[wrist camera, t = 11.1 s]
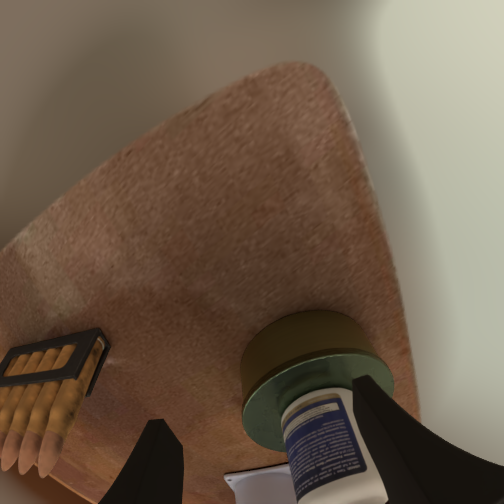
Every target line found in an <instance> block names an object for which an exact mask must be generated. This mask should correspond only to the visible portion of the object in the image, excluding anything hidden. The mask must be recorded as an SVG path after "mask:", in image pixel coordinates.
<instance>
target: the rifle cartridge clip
mask: <svg viewBox="0 0 504 504" xmlns="http://www.w3.org/2000/svg"><path fill="white" fill-rule="evenodd" d="M110 348H111V347H110V345H109V343H108V342H107V340H106V339H105V337H104V335H103V334H102V332H101V330H100V329H99V328H96V329H92V330H88V331H84V332H80V333H75V334H71V335H67V336H63V337H59V338H55V339H51V340H46V341H42V342H38V343H34V344H29V345H25V346H21V347H16V348H12V349H10V350H9V351H8V353H7V354H6V356H5V357H4V359H3V360H2V362H1V363H0V458H1V467H2V471H7V470H8V469H9V468H10V467H11V466H12V465H13V464H14V462H15V461H16V459H17V458H18V456H19V463H18V465H19V473H20V474H21V475H23V474H25V473H26V472H27V471H28V470H29V469H30V467H31V466H32V465H33V463H34V462H35V460H36V458H37V456H38V455H39V463H38V469H39V475H40V477H42V478H44V477H45V476H47V475H48V474H49V473H50V471H51V470H52V468H53V467H54V465H55V464H56V462H57V460H58V458H59V455H60V453H61V451H62V448H63V445H64V443H65V441H66V438H67V436H68V434H69V432H70V430H71V429H72V427H73V426H74V424H75V421H76V419H77V416H78V413H79V410H80V408H81V405H82V402H83V400H84V397H90V395H91V392H92V390H93V388H94V385H95V383H96V380H97V378H98V375H99V373H100V371H101V368H102V366H103V364H104V361H105V359H106V357H107V354H108V352H109V350H110ZM1 456H2V457H1Z"/></svg>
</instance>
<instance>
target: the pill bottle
mask: <svg viewBox="0 0 504 504" xmlns="http://www.w3.org/2000/svg"><path fill="white" fill-rule="evenodd" d="M281 426H282V433H283V437H284V442H285V447H286V451H287V457H288V461H289V466H290V471H291V476H292V481H293V486H294V491H295V496H296V500H297V504H385V503H386V502H387V501H388V497H387V494H386V490H385V487H384V484H383V482H382V479H381V477H380V475H379V473H378V470H377V468H376V466H375V464H374V462H373V460H372V458H371V456H370V453H369V451H368V449H367V447H366V445H365V443H364V441H363V438H362V436H361V434H360V431H359V429H358V426H357V423H356V420H355V416H354V413H353V396H352V391H350V390H348V389H344V388H326V389H320V390H316V391H313V392H310V393H308V394H306V395H303V396H301V397H300V398H298V399H297V400H295V401H294V402H293V403H292V404H291V405H290V406H289V407H288V408H287V409H286V410H285V412H284V414H283V416H282V420H281Z"/></svg>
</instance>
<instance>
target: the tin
mask: <svg viewBox="0 0 504 504" xmlns="http://www.w3.org/2000/svg"><path fill="white" fill-rule="evenodd" d="M240 369H241V381H242V392H243V405H242V411H241V413H242V424H243V427H244V430H245V431H246V433H247V435H248V436H249V437H250V438H251V439H252V440H253V441H254V442H256V443H257V444H259V445H261V446H263V447H265V448H268V449H271V450H275V451H279V452H287V451H286V447H285V442H284V437H283V433H282V426H281V420H282V416H283V414H284V412H285V410H286V409H287V408H288V407H289V406H290V405H291V404H292V403H293V402H294V401H295V400H297V399H298V398H300V397H301V396H303V395H306V394H308V393H310V392H313V391H316V390H320V389H326V388H344V389H348V390H350V391H352V379H355V378H358V377H361V376H364V375H367V374H368V375H370V376H371V377H372V378H373V379H374V381H375V382H376V383H377V384H378V385H379V386H380V387H381V388H382V389H383V390H384V391H385V392H386V393H387V394H388V395H389V396H390V397H391V398H392V396H393V392H394V379H393V375H392V373H391V371H390V369H389V367H388V366H387V364H386V363H385V362H384V361H383V360H382V359H381V358H380V357H379V356H378V355H377V353H376V351H375V350H374V348H373V346H372V345H371V343H370V341H369V339H368V338H367V336H366V334H365V333H364V331H363V330H362V328H361V327H360V326H359V324H357V323H356V322H355V321H354V320H352V319H351V318H349V317H347V316H345V315H343V314H340V313H337V312H333V311H325V310H314V311H305V312H300V313H296V314H293V315H289V316H287V317H284V318H282V319H280V320H278V321H276V322H274V323H272V324H270V325H269V326H267V327H266V328H265V329H263V330H262V331H261V332H260V333H259V334H257V335H256V336H255V338H254V339H253V340H252V341H251V342H250V344H249V345H248V347H247V348H246V350H245V352H244V354H243V357H242V360H241V367H240Z"/></svg>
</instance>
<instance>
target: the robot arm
mask: <svg viewBox="0 0 504 504" xmlns="http://www.w3.org/2000/svg"><path fill="white" fill-rule="evenodd" d="M352 396H353V413H354V416H355V420H356V423H357V426H358V429H359V431H360V434H361V436H362V438H363V441H364V443H365V445H366V447H367V449H368V451H369V453H370V456H371V458H372V460H373V462H374V464H375V466H376V468H377V470H378V473H379V475H380V477H381V479H382V482H383V484H384V487H385V490H386V494H387V497H388V500H389V503H390V504H504V466H501V465H498V464H495V463H492V462H489V461H486V460H484V459H481V458H479V457H476V456H474V455H472V454H470V453H468V452H466V451H464V450H462V449H460V448H458V447H456V446H454V445H452V444H451V443H449V442H447V441H445V440H444V439H442V438H441V437H439V436H438V435H436V434H434V433H433V432H432V431H430V430H429V429H427V428H426V427H425V426H423V425H422V424H421V423H419V422H418V421H417V420H416V419H414V418H413V417H412V416H411V415H409V414H408V413H407V412H406V411H405V410H404V409H403V408H402V407H400V406H399V405H398V404H397V403H396V402H395V401H394V400H393V399H392V398H391V397H390V396H389V395H388V394H387V393H386V392H385V391H384V390H383V389H382V388H381V387H380V386H379V385H378V384H377V383H376V382H375V381H374V379H373V378H372V377H371V376H370V375H368V374H367V375H364V376H361V377H358V378H355V379H352ZM183 477H184V458H183V446H182V444H181V443H180V442H179V440H178V439H177V438H176V436H175V435H174V433H173V432H172V431H171V429H170V428H169V426H168V425H167V424H166V422H165V421H164V419H155V420H149V421H148V422H147V424H146V426H145V428H144V430H143V432H142V434H141V436H140V438H139V440H138V442H137V443H136V445H135V447H134V449H133V451H132V453H131V455H130V456H129V458H128V460H127V462H126V463H125V465H124V467H123V469H122V470H121V472H120V473H119V475H118V477H117V478H116V480H115V481H114V483H113V484H112V486H111V487H110V489H109V490H108V491H107V493H106V494H105V495H104V497H103V498H102V499H101V501H100V502H99V503H98V504H182V493H183ZM224 479H225V481H226V482H227V483H228V485H229V486H230V487H231V489H232V490H233V491H234V492H235V499H236V504H297V500H296V496H295V491H294V486H293V481H292V476H291V471H290V466H289V464H284V465H280V466H275V467H269V468H264V469H258V470H252V471H246V472H239V473H232V474H226V475H224Z"/></svg>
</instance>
